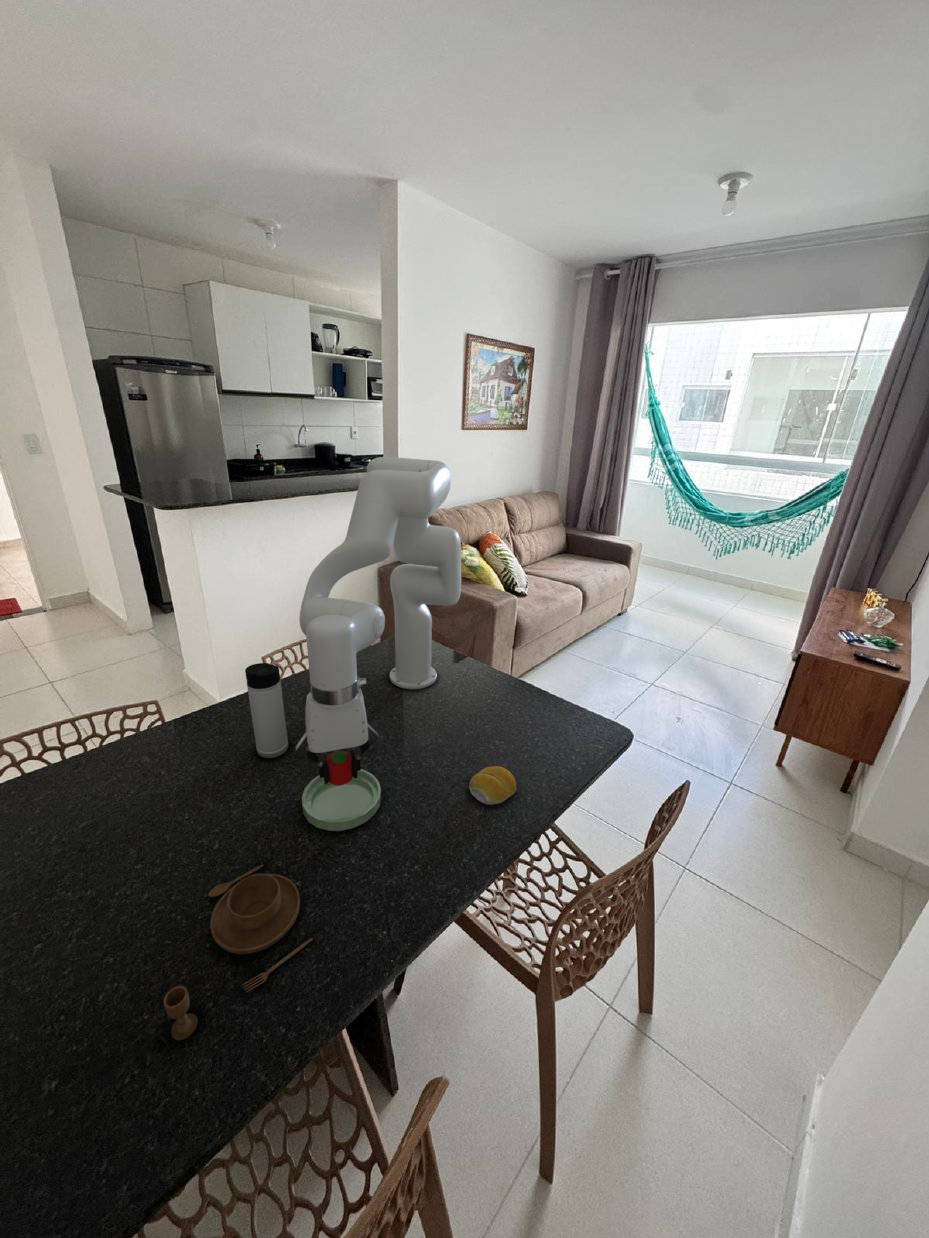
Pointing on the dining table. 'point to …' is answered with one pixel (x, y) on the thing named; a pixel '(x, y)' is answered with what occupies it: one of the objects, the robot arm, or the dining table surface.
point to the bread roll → (492, 785)
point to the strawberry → (339, 768)
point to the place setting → (243, 931)
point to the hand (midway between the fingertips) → (340, 775)
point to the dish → (341, 802)
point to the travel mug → (267, 709)
